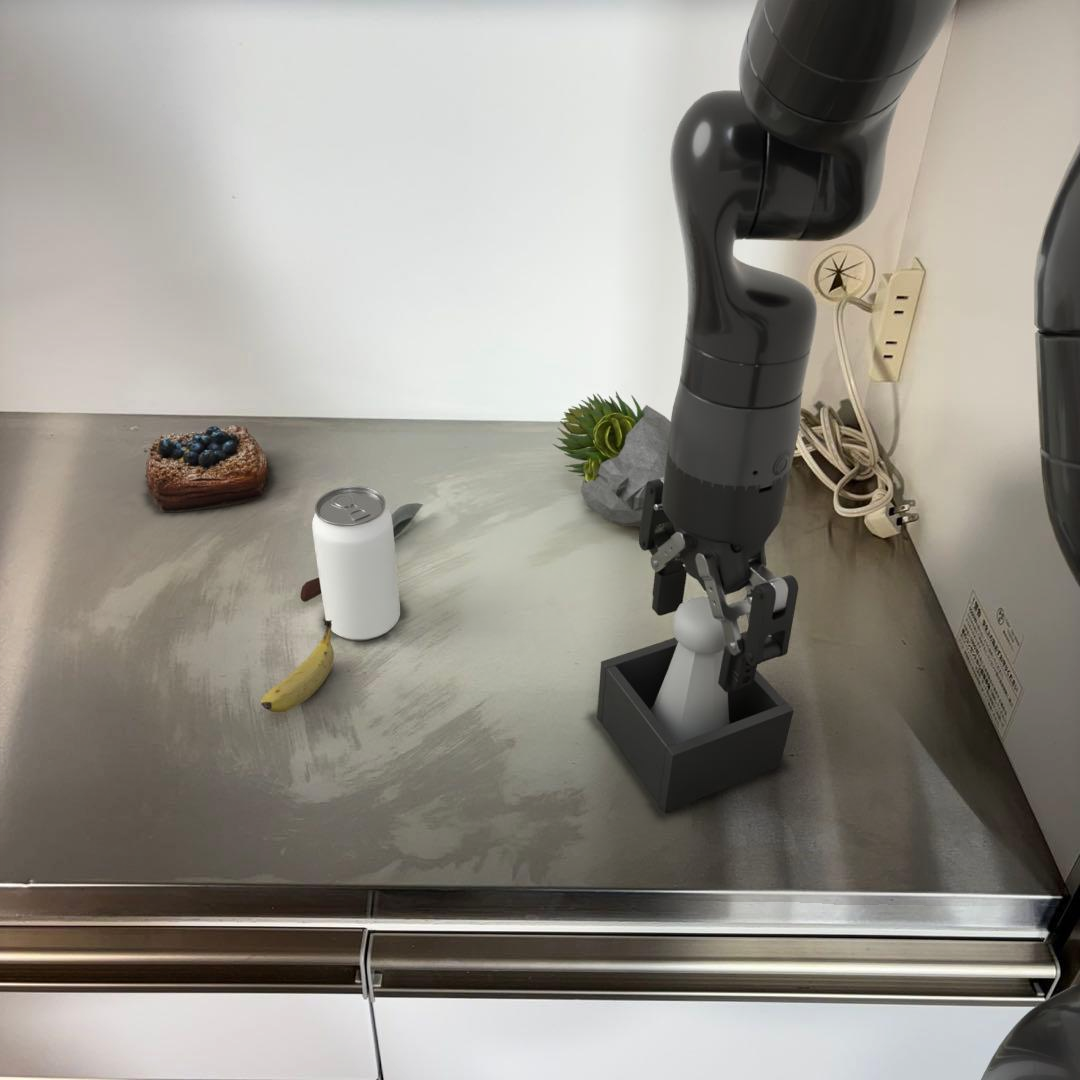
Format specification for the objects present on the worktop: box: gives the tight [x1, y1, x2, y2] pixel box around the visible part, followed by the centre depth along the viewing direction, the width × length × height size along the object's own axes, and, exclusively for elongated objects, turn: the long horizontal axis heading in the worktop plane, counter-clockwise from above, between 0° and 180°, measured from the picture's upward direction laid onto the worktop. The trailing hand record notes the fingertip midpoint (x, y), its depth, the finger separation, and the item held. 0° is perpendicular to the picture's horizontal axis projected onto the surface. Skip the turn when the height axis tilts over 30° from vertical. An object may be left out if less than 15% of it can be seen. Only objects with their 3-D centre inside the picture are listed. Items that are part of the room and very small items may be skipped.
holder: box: [596, 637, 795, 814], centre depth 72 cm, size 10×10×6 cm
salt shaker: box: [650, 596, 730, 744], centre depth 70 cm, size 6×6×13 cm
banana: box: [260, 618, 335, 713], centre depth 76 cm, size 10×2×4 cm, turn 162°
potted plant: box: [552, 391, 671, 528], centre depth 97 cm, size 12×13×15 cm
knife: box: [300, 502, 424, 603], centre depth 91 cm, size 18×2×3 cm, turn 151°
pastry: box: [145, 424, 269, 513], centre depth 101 cm, size 11×12×6 cm
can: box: [311, 485, 401, 642], centre depth 81 cm, size 6×6×12 cm
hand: (698, 646), depth 68 cm, fingers open, 8 cm apart
